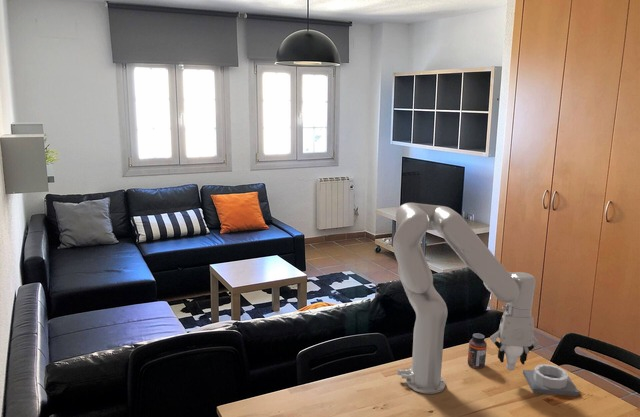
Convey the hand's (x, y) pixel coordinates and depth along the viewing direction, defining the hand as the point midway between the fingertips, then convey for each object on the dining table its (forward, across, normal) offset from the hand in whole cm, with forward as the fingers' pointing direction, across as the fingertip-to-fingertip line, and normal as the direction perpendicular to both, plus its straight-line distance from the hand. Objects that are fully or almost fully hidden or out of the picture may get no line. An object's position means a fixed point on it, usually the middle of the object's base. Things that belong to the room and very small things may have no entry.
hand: (511, 361), depth 173 cm
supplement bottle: (+8, -9, +10) cm, 16 cm away
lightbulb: (+3, 0, 0) cm, 3 cm away
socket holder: (+7, +13, 0) cm, 15 cm away
